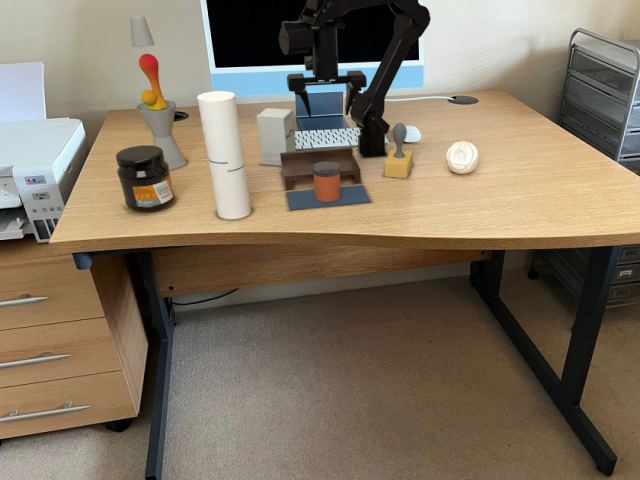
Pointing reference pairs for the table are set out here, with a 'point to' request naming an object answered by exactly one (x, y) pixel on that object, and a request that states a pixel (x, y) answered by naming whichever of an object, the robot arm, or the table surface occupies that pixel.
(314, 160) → the shelf
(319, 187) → the jar
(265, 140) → the white packaging box
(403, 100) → the table surface
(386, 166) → the rubber stamp
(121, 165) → the supplement container
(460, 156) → the cream swirled ball
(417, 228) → the table surface
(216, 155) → the cylindrical container
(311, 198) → the mat
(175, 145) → the lava lamp
